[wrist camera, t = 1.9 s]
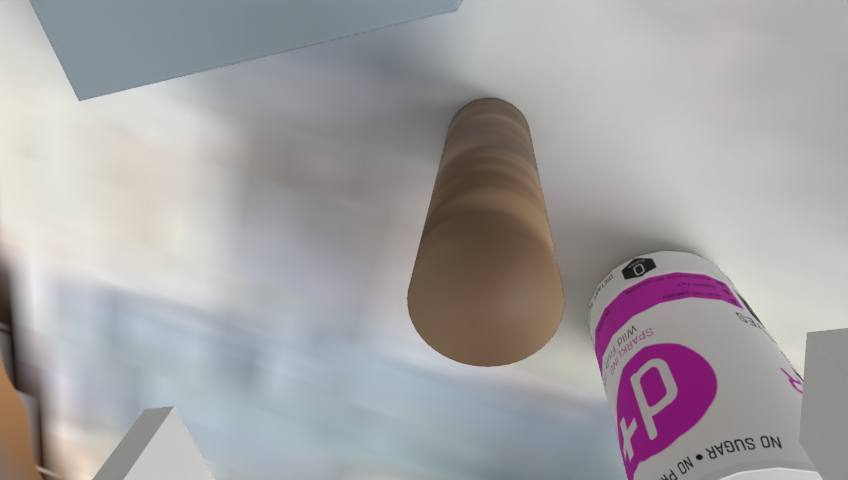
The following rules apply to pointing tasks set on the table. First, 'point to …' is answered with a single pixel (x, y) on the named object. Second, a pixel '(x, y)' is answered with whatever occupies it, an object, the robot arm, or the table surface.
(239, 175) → the table surface
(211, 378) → the table surface
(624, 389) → the supplement can
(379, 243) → the table surface
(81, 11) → the socket block
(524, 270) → the walnut peg
